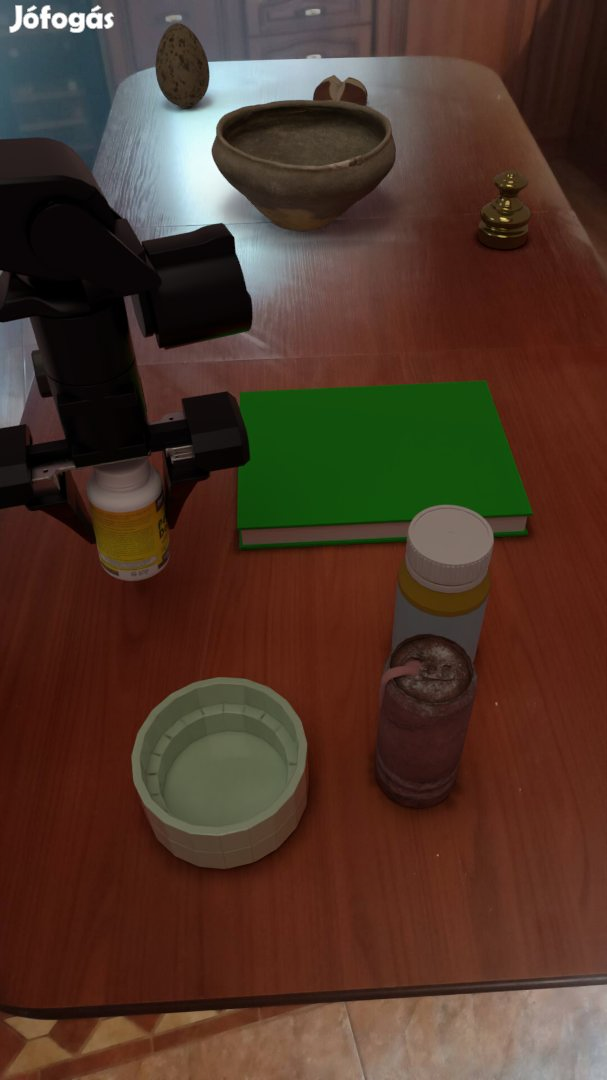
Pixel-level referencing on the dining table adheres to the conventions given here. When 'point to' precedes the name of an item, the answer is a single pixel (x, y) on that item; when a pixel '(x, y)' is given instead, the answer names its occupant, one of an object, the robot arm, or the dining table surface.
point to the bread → (341, 90)
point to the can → (423, 718)
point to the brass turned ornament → (505, 214)
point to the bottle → (444, 576)
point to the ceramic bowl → (222, 771)
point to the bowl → (304, 158)
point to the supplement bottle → (129, 518)
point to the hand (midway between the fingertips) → (132, 532)
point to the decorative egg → (182, 67)
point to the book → (372, 463)
